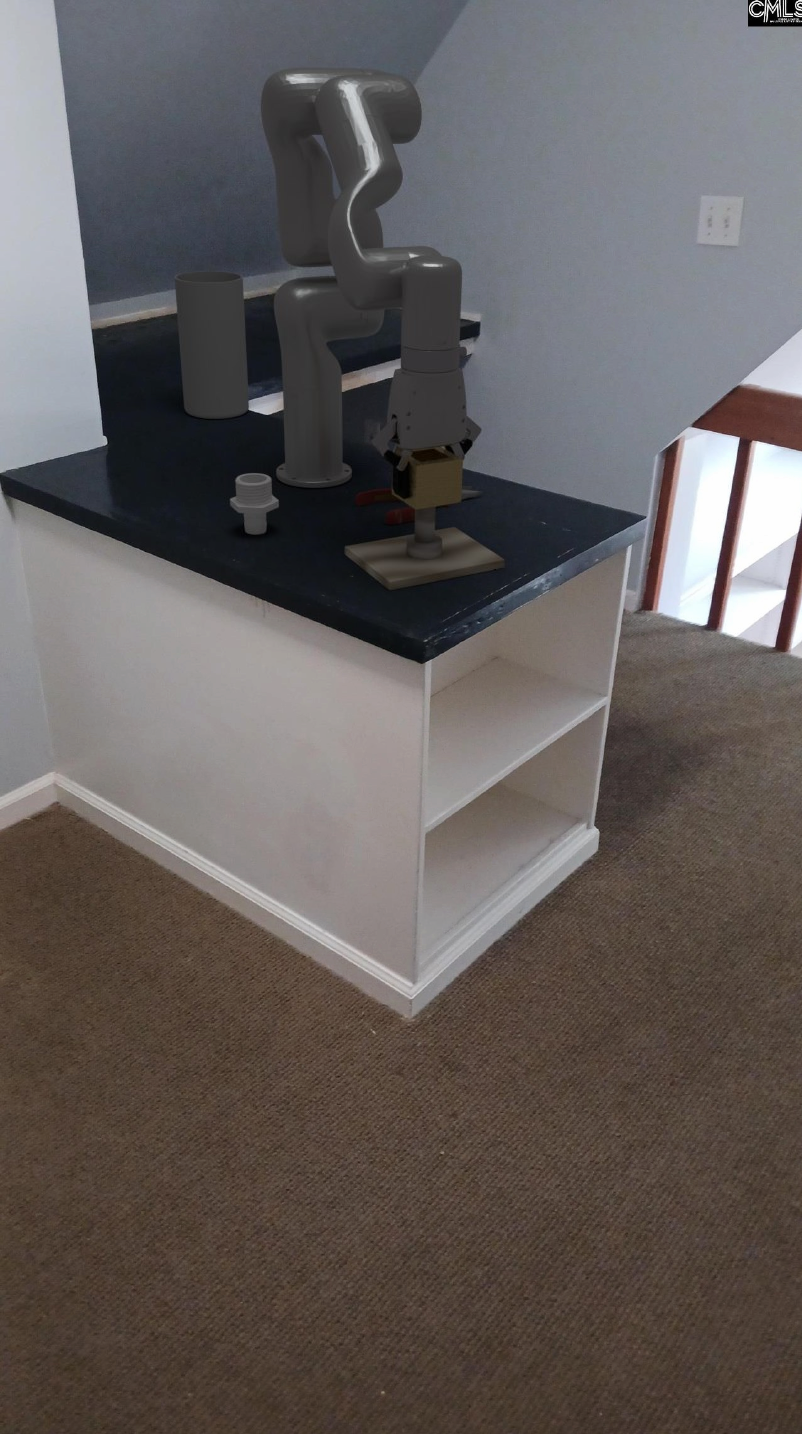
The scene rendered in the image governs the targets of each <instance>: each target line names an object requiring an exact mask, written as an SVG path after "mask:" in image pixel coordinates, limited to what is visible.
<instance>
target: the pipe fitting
mask: <svg viewBox="0 0 802 1434" xmlns="http://www.w3.org/2000/svg"><path fill="white" fill-rule="evenodd" d="M234 482H235V492H236V493H235V495H236V496H234V497H231V498H230V499H229V504H230V507H231V508H233V510H235V511H236V512H237V513H239V514H243V518H244V519H243V524H244V532H245V533H247V534H248V535H249V534H250V535H263V534H265V533H266V532H267V523H268V522H267V513H269V512H270V511H274V510H275V509H278V508H279V507H280V506H279V505H280V503H279V502H280V501H279V499H277V497H275V496H274V495H273V493H272V492H273V490H272V489H273V488H272V484H273V483H272V477H270V476H269V475H267V474H264V473H256V472H255V473H254V472H251V473H249V472H248V473H244V474H240V475H238V476H237V477H236V478H235V480H234Z"/></svg>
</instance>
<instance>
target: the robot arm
mask: <svg viewBox="0 0 802 1434" xmlns="http://www.w3.org/2000/svg"><path fill="white" fill-rule="evenodd" d="M260 97H261V99H260V112H261V113H260V115H261V122H262V128H263V131H264V136H265V139H266V142H267V145H268V148H269V152H270V155H271V159H272V162H273V166H274V175H275V188H276V189H275V190H276V203H277V204H276V206H277V220H278V221H277V222H278V223H277V224H278V234H279V237H278V238H279V244H280V250H281V254H282V256H283V258H284V261H285V262H286V263H288V264H289V265H291V266H293V267H295V268H296V267H297V268H326V267H332V270H333V273H334V275H320V276H319V275H318V276H317V275H316V276H315V275H314V276H303V277H298V278H292V279H290V280H288V281H286V282H284V283H282V284H281V285H280V286H279V287H278V289H277V290H276V292H275V295H274V298H273V312H274V318H275V324H276V329H277V335H278V338H279V346H280V347H279V348H280V354H281V355H280V356H281V357H280V358H281V373H282V375H281V377H282V378H281V379H282V397H283V398H282V401H283V403H282V404H283V406H282V407H283V430H284V447H283V448H284V458H285V460H284V463H281V464H280V465H279V466H278V467H277V468H276V471H275V474H276V478H277V480H278V481H280V482H281V483H283V484H286V485H289V486H293V487H296V488H307V489H319V488H320V489H321V488H331V487H335V486H339V485H341V484H342V485H343V484H345V483H347V482H348V481H349V480H350V479H351V478H352V475H353V474H352V473H353V469H352V468H351V466H350V465H348V464H347V463H344V462H343V376H342V375H343V373H342V368H341V366H340V363H339V361H338V359H337V358H336V356H335V355H334V354H333V352H331V350H330V349H329V347H328V346H327V343H329V342H331V341H336V340H347V339H359V338H366V337H371V336H373V335H375V334H377V333H378V332H379V331H380V330H381V328H382V326H383V323H384V319H385V318H384V317H385V310H396V309H401V327H400V338H401V339H400V368H397V369H394V372H393V376H392V380H391V384H390V389H389V397H388V406H387V417H386V425H385V426H384V427H383V428H382V429H381V430H380V432H378V434H376V435H375V436H374V438H373V439H372V440H371V444H372V447H374V448H375V449H376V451H377V452H378V453H379V454H380V456H381V457H382V458H383V459H385V461H387V463H388V464H389V465H390V466H391V489H392V488H393V490H394V493H395V494H397V495H398V496H400V497H401V498H403V499H407V498H408V497H409V470H407V469H406V466H407V463H408V461H409V459H410V457H411V455H412V452H413V450H421V449H428V448H435V447H442V448H444V449H446V450H448V451H449V452H451V453H453V454H455V455H457V456H458V457H460V458H462V459H463V461H465V458H466V454H468V452H469V451H470V450H471V448H472V447H473V444H474V442H476V440H477V439H478V437H479V436H480V434H481V432H482V428H481V426H479V425H478V424H477V423H476V422H475V421H474V420H472V419H471V418H470V417H469V416H468V415H467V414H468V413H467V412H468V411H467V395H466V385H465V378H464V372H463V370H462V368H461V367H459V365H461V364H460V361H461V360H460V359H462V358H465V357H467V354H468V350H467V347H466V346H461V344H460V342H461V340H460V339H461V316H462V314H461V312H462V293H463V292H462V289H463V288H462V286H463V283H462V282H463V269H462V266H461V263H460V262H459V261H458V260H457V259H456V258H452V257H450V256H444V255H442V254H441V253H440V252H439V251H438V250H436V249H435V248H434V247H430V246H427V245H426V246H424V245H423V246H422V245H415V246H414V245H413V246H393V247H390V246H387V247H384V234H383V233H384V231H383V227H382V222H381V220H380V216H379V213H378V211H377V209H378V208H380V207H382V206H383V205H385V204H386V203H387V202H389V201H390V200H391V199H393V197H395V196H396V194H397V193H398V191H399V190H400V188H401V187H402V183H403V179H404V178H403V177H404V176H403V174H404V173H403V169H402V166H401V163H400V161H399V158H398V155H397V152H396V150H395V149H396V148H395V146H394V145H403V144H408V143H410V142H412V141H414V139H415V138H416V137H417V136H418V134H419V132H420V129H421V127H422V120H423V117H422V116H423V115H422V114H423V111H422V110H423V109H422V104H421V99H420V95H419V93H418V91H417V90H416V87H415V86H414V85H413V83H412V82H411V81H410V80H409V79H408V78H407V77H405V76H403V75H400V74H395V73H391V72H387V71H383V70H378V69H372V68H350V67H349V68H347V67H346V68H344V67H342V68H339V67H337V68H336V67H293V68H286V69H283V70H282V69H281V70H279V71H276V72H274V73H272V74H271V75H269V76H268V78H267V79H266V80H265V82H264V84H263V88H262V92H261V96H260ZM315 136H322V138H323V141H324V144H325V147H326V150H327V152H328V154H327V153H326V152H325V149H324V148H323V147H322V145H321V144H320V143H319V142H318V140H317V139H316V138H315ZM328 156H329V157H328ZM333 170H334V171H333ZM333 172H334V174H335V176H336V180H337V182H338V184H339V188H340V191H341V192H340V194H339V196H338V197H337V198H336V197H335V195H334V185H333V184H334V183H333V181H334V179H333V177H334V174H333ZM389 442H391V443H392V444H395V446H394V447H393V450H391V449H390V447H389V446H388V444H389Z"/></svg>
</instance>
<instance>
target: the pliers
mask: <svg viewBox="0 0 802 1434" xmlns="http://www.w3.org/2000/svg"><path fill="white" fill-rule="evenodd" d="M473 489H474V485H462V494H461V501H463V500H465V499H469V498H472V497H473V498H474V497H476V496H480V495H483V494H484V492H483V491H482V490H473ZM354 502H355V505H356V506H357V507H361V505H362V506H365V505H366V504H367V505H371V504H377V502H378V503H387V502H388V503H389V502H392V503H394V502H395V503H398V502H401V503H403V501H402V500H400V499H399V498H397V497H396V496H394V495H393V494H392V488H376V489H371V490H367V491H362V492H359V493H357V494H356V496H355V499H354ZM439 507H441V508H448V507H450V504H447V505H441V506H436V509H438V508H439ZM384 518H385V519H384V521H385V524H387V525H389V526H395V525H400V524H406V523H411V522H415V509H414V508H413V507H411V506H407V507H401V508H396V509H391V510H389V511H388V512H386V514H385V517H384Z"/></svg>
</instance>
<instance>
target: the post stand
mask: <svg viewBox="0 0 802 1434" xmlns="http://www.w3.org/2000/svg"><path fill="white" fill-rule="evenodd" d="M436 510H437V508H436V506H435V507H429V508H423V509H417V510H416V509H415V521H414V534H407V535H402V536H397V537H391V538H390V537H389V538H384V539H378V540H374V541H373V540H372V541H366V542H362V543H358V544H351V545H345V546H344V555H345V556H346V557H347V558H349V559H350V560H351V561H352V562H354V563H355V564H356V565H357V566H358V567H360V568H361V569H362V570H364V572H366V573H368V574H369V575H370V576H371V577H373V579H375V580H376V581H378V582H379V583H380V584H381V585H382V586H383V587H385V588H386V589H387V590H389V591H395V590H398V589H404V588H410V587H415V586H418V585H425V584H429V583H434V582H439V581H444V580H449V579H455V578H458V577H459V578H460V577H464V576H468V575H469V576H471V575H474V574H480V573H485V572H490V571H495V570H494V569H496V570H500V568H501V569H505V565H506V564H505V563H506V562H505V561H506V560H505V559H504V558H503V557H502V556H500V555H498V553H495V552H494V551H492V550H490V549H489V548H487V546H485V545H483V544H481V543H480V542H478V541H477V540H476V539H473V538H472V537H470V536H469V535H468V534H466V533H465V532H463V531H461V530H460V529H458V528H457V527H455V526H453V527H447V528H441V529H436Z"/></svg>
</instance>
